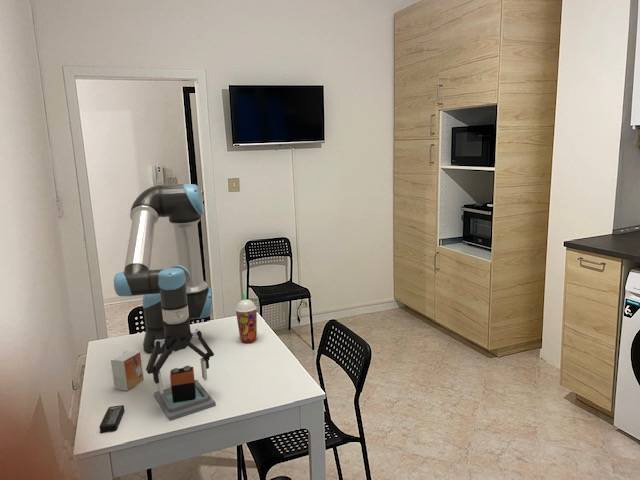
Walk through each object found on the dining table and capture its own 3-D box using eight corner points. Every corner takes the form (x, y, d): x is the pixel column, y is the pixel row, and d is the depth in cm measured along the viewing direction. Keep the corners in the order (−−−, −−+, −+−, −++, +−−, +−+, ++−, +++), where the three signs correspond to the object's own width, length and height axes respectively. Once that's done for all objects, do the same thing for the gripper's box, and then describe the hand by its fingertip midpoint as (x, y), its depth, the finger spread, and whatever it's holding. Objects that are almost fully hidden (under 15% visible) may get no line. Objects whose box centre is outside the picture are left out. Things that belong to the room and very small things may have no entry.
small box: (127, 391, 157) (123, 361, 155) (114, 389, 159) (110, 359, 157) (144, 380, 164) (140, 351, 162) (131, 378, 166) (127, 349, 164)
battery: (195, 399, 147) (192, 369, 145) (172, 403, 145) (169, 372, 143) (195, 392, 151) (192, 363, 149) (173, 396, 149) (170, 366, 148)
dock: (154, 395, 153) (153, 388, 153) (196, 382, 160) (196, 376, 160) (169, 420, 138) (168, 413, 138) (215, 405, 145) (215, 398, 145)
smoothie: (241, 336, 199) (238, 290, 195) (261, 336, 198) (257, 290, 194) (235, 344, 191) (231, 296, 187) (255, 344, 190) (252, 296, 186)
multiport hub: (100, 434, 134) (98, 426, 133) (109, 413, 144) (108, 406, 144) (116, 432, 134) (115, 424, 134) (125, 411, 145) (124, 404, 144)
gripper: (135, 333, 134) (144, 403, 138) (220, 314, 147) (226, 378, 151) (130, 326, 140) (138, 392, 144) (212, 307, 153) (217, 369, 157)
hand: (183, 385), depth 148 cm, fingers open, 13 cm apart
